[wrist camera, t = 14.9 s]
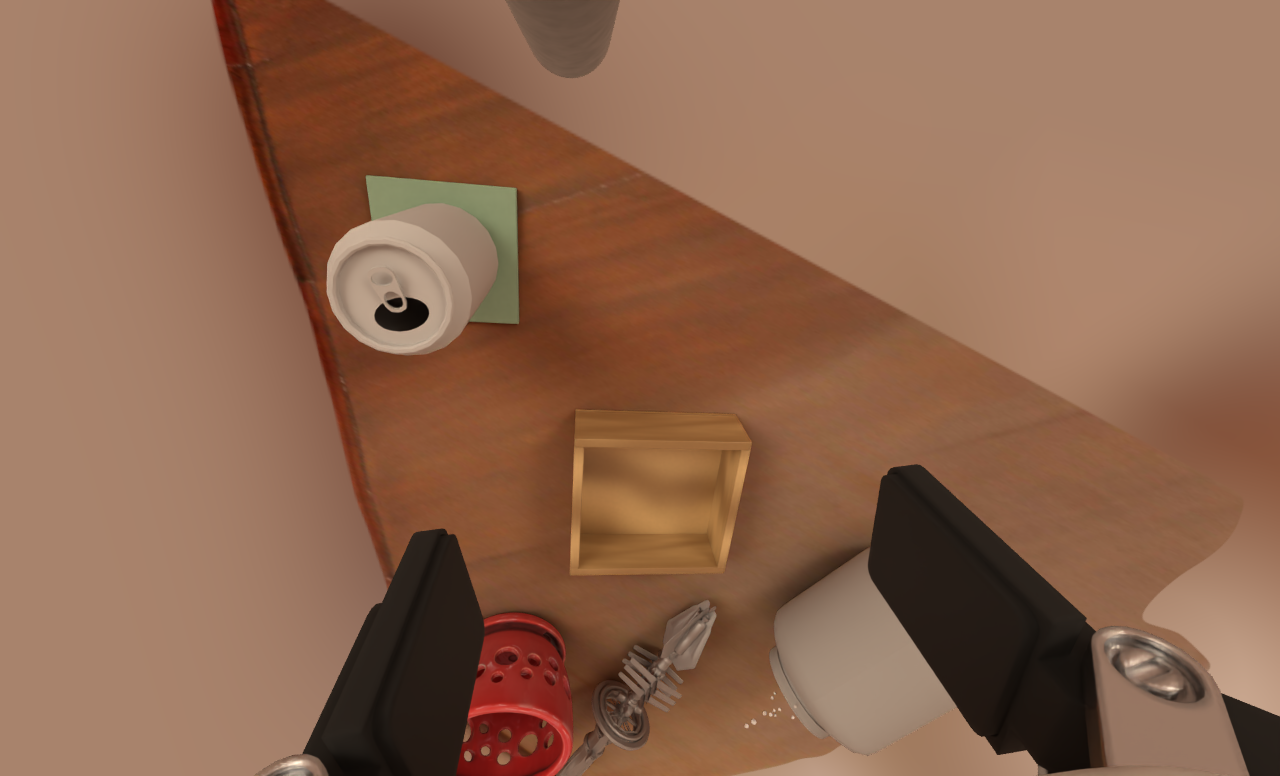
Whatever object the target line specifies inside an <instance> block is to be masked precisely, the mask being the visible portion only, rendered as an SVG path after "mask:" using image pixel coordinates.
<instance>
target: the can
mask: <svg viewBox="0 0 1280 776" xmlns="http://www.w3.org/2000/svg"><path fill="white" fill-rule="evenodd" d="M497 270H498V257H497V251H496V246H495V244H494V242H493V240H492V238H491V236H490V234H489V232H488V231H487V230H486V228H485V227H484V226H483V225H482V224H481V223H480V222H479V221H478V220H477V218H475V217H474V216H472V215H471V214H469V213H467V212H466V211H464V210H463V209H461V208H458V207H455V206H451V205H447V204H444V203H434V204H423V205H420V206H417V207H414V208H411V209H407V210H404V211H401V212H398V213H395V214H392V215H389V216H386V217H383V218H380V219H376V220H373V221H370V222H368V223H366V224H363V225H361V226H358V227H356V228H353V229H351V230H350V231H349V232H348V233H347V234H346V235H345V236H344V237H343V238H342V239H340V240H339V241H338V242H337V243H336V245H335V247H334V249H333V252H332V254H331V256H330V259H329V261H328V263H327V295H328V298H329V301H330V305H331V308H332V311H333V313H334V314H335V316H336V317H337V318H338V320H339V321H340V323H341V324H342V326H343V327H344V328H345V329H346V330H347V331H348V332H349V333H350V334H352V335H353V336H354V337H355V338H356V339H357V340H358V341H360V342H362V343H364V344H366V345H368V346H370V347H372V348H374V349H376V350H378V351H383V352H388V353H392V354H402V355H418V354H428V353H431V352H433V351H436V350H438V349H441V348H444V347H446V346H447V345H448V344H449V343H451V342H452V341H453V340H454V339H455V338H456V337H458V336H459V335H460V334H461V332H462V331H463V329H464V328H465V326H466V325H467V323H468V322H469V320H470V319H471V318H472V316H473V315H474V313H475V312H476V310H477V309H478V307H479V306H480V304H481V303H482V301H483V300H484V298H485V297H486V296H487V294H488V293H489V291H490V289H491V287H492V285H493V284H494V282H495V280H496V276H497Z"/></svg>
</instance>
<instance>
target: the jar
mask: <svg viewBox="0 0 1280 776" xmlns="http://www.w3.org/2000/svg"><path fill="white" fill-rule="evenodd" d="M869 552H870V547H869V548H867V549H865V550H864V551H862V552H861V553H859V554H858V555H856V556H855V557H854V558H852V559H851V560H849V561H848V562H846V563H845V564H843V565H842V566H840V567H839V568H837V569H836V570H834V571H833V572H831V573H830V574H829V575H827V576H826V577H824V578H823V579H821V580H820V581H818V582H817V583H815V584H814V585H812V586H811V587H809V588H808V589H807V590H805V591H804V592H802V593H801V594H799V595H798V596H796V597H795V598H793V599H792V600H790V601H789V602H787V603H786V604H785V605H783V606H782V607H781V608H780V609H779V610H778V611H777V614H776V616H775V620H774V634H775V641H776V646H775V647H774V648H772V649H771V650H770V653H769V658H770V664H771V667H772V671H773V673H774V676H775V679H776V681H777V683H778V685H779V688H780V690H781V691H782V693H783V695H784V697H785V699H786V700H787V702H788V704H789V705H790V707H791V709H792V710H793V712H794V713H795V714H796V716H797V717H798V718H799V720H800V721H801V722H802V724H803V725H804V726H805V727H806V728H807V729H808V730H809V731H810V732H811V733H812V734H813V735H815V736H816V737H818V738H820V739H824V738H826V737H828V736H831V737H832V738H834V739H835V740H836V741H837V742H839V743H840V744H841V745H843V746H844V747H846V748H847V749H849V750H850V751H852V752H853V753H858V754H862V755H867V756H869V755H872V754H874V753H877V752H879V751H880V750H882V749H884V748H886V747H887V746H889V745H891V744H893V743H894V742H896V741H898V740H900V739H902V738H903V737H905V736H907V735H909V734H911V733H912V732H914V731H916V730H918V729H919V728H921V727H923V726H925V725H927V724H928V723H930V722H932V721H934V720H935V719H937V718H939V717H940V716H942V715H944V714H946V713H948V712H950V711H951V710H953V709H955V708H956V707H957V706H956V705H955V703H954V702H953V700H952V699H951V697H950V696H949V694H948V693H947V691H946V690H945V688H944V687H943V685H942V684H941V682H940V681H939V679H938V678H937V676H936V675H935V673H934V672H933V670H932V669H931V668H930V666H929V665H928V663H927V662H926V660H925V659H924V657H923V656H922V654H921V653H920V651H919V650H918V648H917V647H916V645H915V644H914V642H913V641H912V639H911V638H910V636H909V635H908V633H907V632H906V630H905V629H904V627H903V626H902V624H901V623H900V622H899V620H898V619H897V617H896V616H895V614H894V613H893V611H892V610H891V608H890V607H889V605H888V604H887V602H886V601H885V599H884V598H883V596H882V595H881V593H880V592H879V590H878V589H877V587H876V586H875V584H874V583H873V581H872V580H871V577H870V575H869V571H868V559H869ZM774 695H776V692H774ZM771 699H772V700H773V699H774V697H773V696H771ZM778 710H779V711H781V708H778ZM775 711H776V710H775V709H773V712H775ZM763 715H765V716H766V715H767V712H766V711H763ZM769 716H773V714H772V713H771V712H770V713H769ZM774 716H775V717H776V714H774ZM791 718H792V719H794V716H791ZM751 722H752V724H754V725H755V724H756V720H755V719H752V720H751ZM745 727H746V728H748V727H749V725H748V724H745Z"/></svg>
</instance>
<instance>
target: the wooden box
mask: <svg viewBox="0 0 1280 776" xmlns="http://www.w3.org/2000/svg"><path fill="white" fill-rule="evenodd" d="M751 446H752V442H751V440H750V438H749V436H748V435H747V433H746V431H745V430H744V428H743V426H742V424H741V423H740V421H739V419H738V417H737V416H736V414H720V413H685V412H651V411H617V410H583V409H576V410H575V436H574V464H573V492H572V520H571V548H570V575H639V574H708V573H724V571H725V567H726V562H727V557H728V553H729V548H730V543H731V539H732V534H733V529H734V525H735V520H736V516H737V511H738V506H739V502H740V497H741V492H742V488H743V483H744V479H745V474H746V469H747V465H748V460H749V455H750V450H751Z"/></svg>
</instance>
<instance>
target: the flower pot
mask: <svg viewBox="0 0 1280 776" xmlns="http://www.w3.org/2000/svg"><path fill="white" fill-rule="evenodd" d="M484 626H485V636H484V642H483V647H482V651H481V656H480V661H479V666H478V671H477V676H476V681H475V685H474V690H473V695H472V700H471V705H470V710H469V714H468V719H467V721H468V723H469V724H470V727H471V735H470V738H469V739H468V741H467V742H463V744H462V748H461V753H460V758H459V763H458V768H457V773H456V776H554V775H556V774H557V773H558V772H559V771H560V770H561V769H562V768H563V766H564V765H565V764H566V762H567V761H568V759H569V757H570V754H571V752H572V748H573V711H572V698H571V690H570V684H569V679H568V675H567V672H566V669H565V666H564V661H565V657H566V648H565V644H564V640H563V638H562V636H561V635H560V633H559V632H558V631H557V629H556V628H555V627H554V626H552V625H551V624H550V623H549V622H547V621H545V620H543V619H541V618H539V617H537V616H534V615H531V614H526V613H516V612H515V613H503V614H498V615H494V616H491V617H488V618H486V619H484ZM543 720H545V721H546V722H547V724H546V726H545V727H544V728H542V722H543ZM481 724H486V725H487V727H488V731H487V732H486V733H481V732H480V725H481ZM504 729H508V730H510V731H511V739H510V740H509V741H508V742H504V743H503V742H500V740H499V738H498V736H499V733H500V732H501V731H502V730H504ZM529 734H534V735H536V736H537V739H538V742H537V747H536V749H535V751H534V752H533V753H532V754H531V755H529V756H523V755H521V754H520V753H519V750H518V749H519V743H520V742H521V740H522V739H523V738H524V737H525V736H526V735H529ZM553 734H554V740H553V743H552V745H551V746H550V747H548V740H549V738H550V737H551V735H553ZM483 746H487V747H488V748H489V749H490V753H489V754H488V755H487V756H484V755H482V753H481V748H482V747H483ZM465 751H469V752H470V753H471V755H472V759H471V761H469V762H468V761H466V760H465V758H464V753H465ZM502 752H508V753H509V754H510V757H511V758H510V761H509V762H508V763H507V764H505V765H500V764H499V763H498V761H497V758H498V756H499V754H500V753H502Z"/></svg>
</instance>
